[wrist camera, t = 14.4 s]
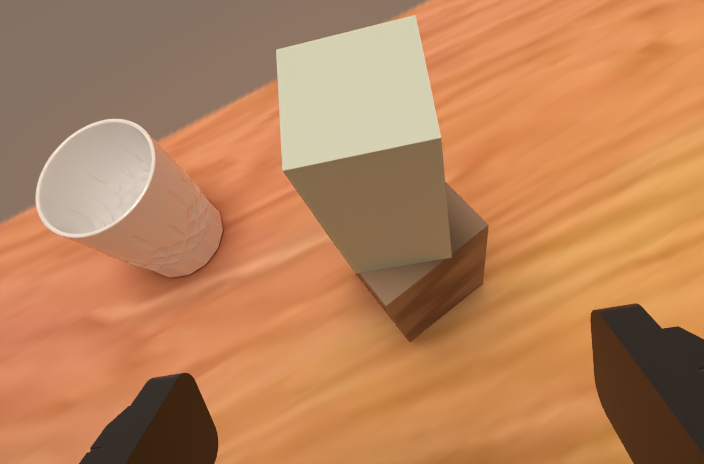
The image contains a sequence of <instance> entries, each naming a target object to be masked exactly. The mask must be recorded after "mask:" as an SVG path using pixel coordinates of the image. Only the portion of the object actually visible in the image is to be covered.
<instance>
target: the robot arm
mask: <svg viewBox="0 0 704 464" xmlns="http://www.w3.org/2000/svg"><path fill="white" fill-rule="evenodd" d="M591 334H592V348H593V362H594V376H595V383H596V388H597V392H598V396H599V399H600V402H601V404H602V407H603V409H604V411H605V413H606V415H607V417H608V419H609V420H610V422H611V424H612V426H613V428H614V429H615V431H616V433H617V435H618V436H619V438H620V440H621V442H622V444H623V445H624V447H625V449H626V451H627V452H628V454H629V456H630V458H631V460H632V461H633V463H634V464H704V339H702V338H700V337H698V336H696V335H694V334H692V333H690V332H688V331H686V330H684V329H682V328H680V327H671V328H664V329H662V328H661V327H660V326H659V325H658V324H657V323H656V322H655V321H654V319H653V318H652V317H651V316H650V315H649V314H648V313H647V312H646V311H645V310H644V308H643V307H641V306H640V305H639V304H630V305H623V306H617V307H610V308H604V309H598V310H593V311H592V313H591ZM90 449H91V451H90V452H88V453H87V454H86V455H85V456H84V458H83V459H82V460H81V462H80V463H79V464H214V463H215V460H216V457H217V452H218V436H217V431H216V428H215V425H214V423H213V420H212V418H211V416H210V414H209V411H208V409H207V407H206V404H205V402H204V400H203V398H202V395H201V393H200V391H199V388H198V386H197V384H196V382H195V380H194V378H193V377H192V376H191V375H190V374H189V373H181V374H175V375H168V376H162V377H156V378H152V379H150V380H149V381H148V382H147V383H146V384H145V385H144V387H143V388H142V390H141V391H140V393H139V394H138V396H137V397H136V398H135V400H134V401H133V403H132V404H131V406H128V407H127V408H126V409H125V410H124V411H123V412H122V413H120V414H119V415H118V416H117V417H116V418H115V419H114V420H113V421H112V422H110V423H109V424H108V425H107V426H106V427H105V429H104V430H103V431H102V433H101V434H100V436H99V437H98V438H97V440H96V441H95V442H94V444H93V445H92V447H91V448H90Z"/></svg>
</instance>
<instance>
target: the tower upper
mask: <svg viewBox="0 0 704 464" xmlns="http://www.w3.org/2000/svg"><path fill="white" fill-rule="evenodd" d="M445 186H446V197H447V208H448V220H449V231H450V242H451V253H452V258H446V259H440V260H435V261H429V262H423V263H417V264H411V265H405V266H399V267H393V268H387V269H381V270H375V271H369V272H363V273H358V275H359V276H360V277H361V279H362V280H363V281H364V283H365V284H366V285H367V286H368V288H369V289H370V290H371V291H372V293H373V294H374V295H375V296H376V298H377V299H378V300H379V302H380V303H381V304H382V305H383V307H384V308H385V309H386V310H387V312H388V313H389V314H390V315H391V317H392V318H393V319H394V321H395V322H396V323H397V324H398V326H399V327H401V326H403V325H404V324H405V323H406V322H408V321H409V320H410V319H411V318H413V317H414V316H415V315H416V314H418V313H419V312H420V311H421V310H423V309H424V308H425V307H426V306H428V305H429V304H430V303H431V302H433V301H434V300H435V299H436V298H438V297H439V296H440V295H442V294H443V293H444V292H445V291H447V290H448V289H449V288H450V287H452V286H453V285H454V284H455V283H457V282H458V281H459V280H460V279H462V278H463V277H464V276H465V275H467V274H468V273H469V272H470V271H472V270H473V269H474V268H475V267H477V266H478V265H479V264H480V263H482V262H483V261H484V260H485V255H486V245H487V235H488V224H487V223H486V222H485V221H484V220H483V219H482V218H481V217H480V216H479V215H478V214H477V213H476V212H475V211H474V210H473V209H472V208H471V207H470V206H469V205H468V204H467V203H466V202H465V201H464V200H463V199H462V198H461V197H460V196H459V195H458V194H457V193H456V192H455V191H454V190H453V189H452V188H451V187H450V186H449V185H448V184H447V183H446V182H445ZM318 222H319V221H318ZM323 229H324V228H323ZM328 236H329V235H328ZM333 243H334V242H333Z"/></svg>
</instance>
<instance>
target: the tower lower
mask: <svg viewBox="0 0 704 464" xmlns="http://www.w3.org/2000/svg"><path fill="white" fill-rule="evenodd" d="M484 265H485V260H484V261H483V262H482V263H480V264H479V265H478V266H477V267H475V268H474V269H473V270H472V271H470V272H469V273H468V274H467V275H465V276H464V277H463V278H462V279H460V280H459V281H458V282H457V283H455V284H454V285H453V286H452V287H450V288H449V289H448V290H447V291H445V292H444V293H443V294H442V295H440V296H439V297H438V298H436V299H435V300H434V301H433V302H431V303H430V304H429V305H428V306H426V307H425V308H424V309H423V310H421V311H420V312H419V313H418V314H416V315H415V316H414V317H413V318H411V319H410V320H409V321H408V322H406V323H405V324H404V325H403V326H401V327H399V326H398V324H397V323H396V322H395V321H394V319H393V318H392V317H391V315H390V314H389V313H388V312H387V310H386V309H385V308H384V307H383V305H382V304H381V303H380V302H379V300H378V299H377V298H376V296H375V295H374V294H373V293H372V291H371V290H370V289H369V288H368V286H367V285H366V284H365V283H364V281H363V280H362V279H361V277H360V276H359V275H358V274H357V276H358V277H359V278H360V279H361V281H362V282H363V283H364V284H365V286H366V287H367V288H368V290H369V291H370V292H371V293H372V295H373V296H374V297H375V298H376V300H377V301H378V302H379V304H380V305H381V306H382V307H383V309H384V310H385V311H386V312H387V314H388V315H389V316H390V318H391V319H392V320H393V321H394V323H395V324H396V325H397V326H398V328H399V329H400V330H401V332H402V333H403V334H404V335H405V337H406V338H407V339H408V340H409V342H411V341H412V340H413V339H414V338H416V337H417V336H418V335H419V334H421V333H422V332H423V331H424V330H426V329H427V328H428V327H429V326H431V325H432V324H433V323H434V322H436V321H437V320H438V319H439V318H441V317H442V316H443V315H444V314H446V313H447V312H448V311H449V310H451V309H452V308H453V307H454V306H456V305H457V304H458V303H459V302H461V301H462V300H463V299H464V298H466V297H467V296H468V295H469V294H471V293H472V292H473V291H474V290H476V289H477V288H478V287H479V286H481V285H482V284H483V275H484Z"/></svg>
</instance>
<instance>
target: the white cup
mask: <svg viewBox="0 0 704 464" xmlns="http://www.w3.org/2000/svg"><path fill="white" fill-rule="evenodd" d="M36 207H37V211H38V214H39V217H40V219H41V220H42V222H43V223H44V225H45V226H46V227H47V228H48V229H50V230H51V231H52V232H54V233H56V234H58V235H60V236H63V237H65V238H68V239H70V240H72V241H75V242H77V243H79V244H82V245H85V246H87V247H89V248H92V249H94V250H96V251H99V252H101V253H103V254H105V255H108V256H110V257H113V258H116V259H119V260H121V261H123V262H126V263H129V264H132V265H134V266H137V267H139V268H146V269H149V270H151V271H153V272H156V273H159V274H161V275H164V276H166V277H169V278H172V277H179V276H187V275H190V274H191V273H193V272H195V271H196V270H198V269H199V268H201V267H203V266H204V265H206V264H207V262H208V261H209V260H210V258H211V257H212V256H213V254H214V253H215V252H216V250H217V249H218V247H219V243H220V239H221V236H222V232H223V227H222V221H221V216H220V212H219V211H218V210H217V209H216V208H215V207H214V205H213V204H212V203H211V202H210V201H209V200H208V199H207V198H206V197H205V196H204V195H203V193H202V191H201V189H200V188H199V187H198V186H197V185H196V184H195V183H194V182H193V180H192V179H191V178H190V177H189V176H188V175H187V174H186V173H185V172H184V170H183V169H182V168H181V167H180V166H179V165H178V164H177V163H176V162H175V161H174V160H173V159H172V158H171V157H170V156H169V155H168V154H167V153H166V152H165V151H164V150H163V149H162V148H161V146H160V145H159V144H158V143H157V142H156V141H155V140H154V139H153V138H152V137H151V136H150V135H149V134H148V133H147V132H146V131H145V130H144V129H143V128H142V127H141V126H139V125H137V124H136V123H134V122H131V121H128V120H122V119H108V120H103V121H98V122H95V123H93V124H90V125H88V126H86V127H84V128H82V129H80V130H78V131H77V132H75V133H74V134H72V135H71V136H70V137H68V138H67V139H66V140H65V141H64V142H63V143H62V144H61V145H60V146H59V147H58V148H57V149H56V150H55V151H54V153H53V154H52V155H51V156H50V158H49V160H48V161H47V163H46V164H45V166H44V168H43V170H42V172H41V175H40V177H39V180H38V184H37V189H36Z"/></svg>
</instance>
